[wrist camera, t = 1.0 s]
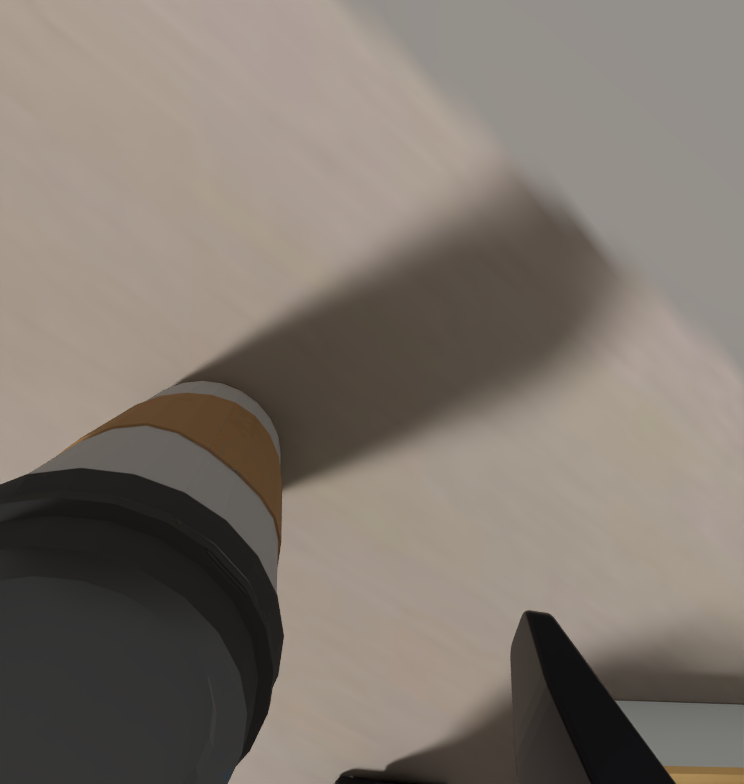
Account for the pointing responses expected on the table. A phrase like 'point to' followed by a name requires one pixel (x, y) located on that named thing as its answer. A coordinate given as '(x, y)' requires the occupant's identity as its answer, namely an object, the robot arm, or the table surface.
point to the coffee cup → (143, 596)
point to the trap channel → (692, 739)
